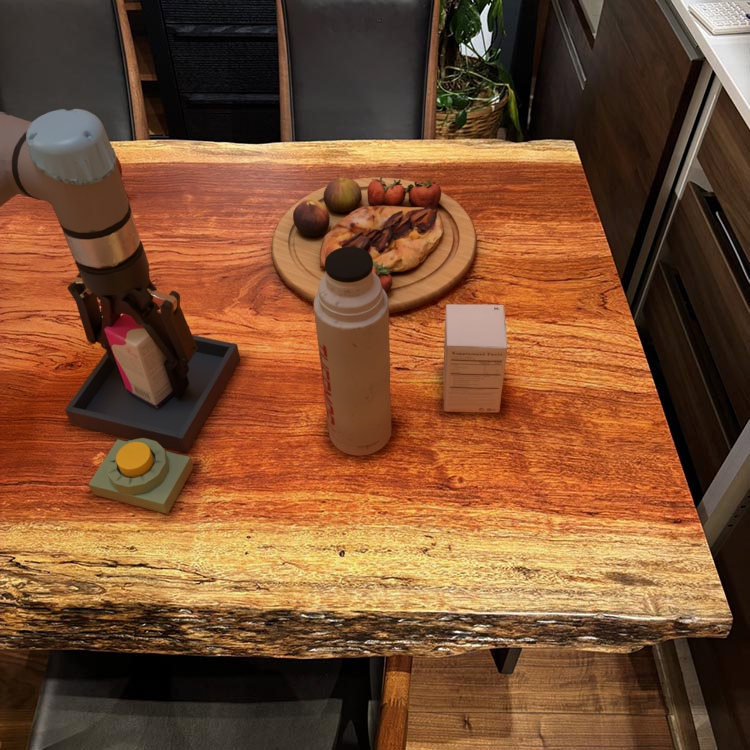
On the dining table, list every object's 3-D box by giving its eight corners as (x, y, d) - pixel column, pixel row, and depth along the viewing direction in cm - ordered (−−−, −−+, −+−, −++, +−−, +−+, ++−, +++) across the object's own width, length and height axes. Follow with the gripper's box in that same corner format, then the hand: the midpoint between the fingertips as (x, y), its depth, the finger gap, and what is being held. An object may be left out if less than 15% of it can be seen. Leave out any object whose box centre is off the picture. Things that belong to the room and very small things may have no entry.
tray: (71, 425, 104) (64, 410, 102) (133, 336, 114) (128, 321, 112) (187, 453, 100) (182, 438, 98) (240, 359, 111) (237, 343, 108)
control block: (93, 494, 97) (83, 475, 94) (122, 449, 101) (113, 429, 98) (168, 514, 94) (160, 495, 91) (193, 467, 99) (187, 447, 96)
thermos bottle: (329, 458, 99) (308, 289, 78) (327, 408, 104) (307, 238, 83) (394, 453, 99) (390, 284, 78) (389, 404, 104) (384, 232, 84)
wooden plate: (452, 336, 112) (454, 292, 106) (241, 299, 119) (231, 255, 113) (493, 202, 133) (497, 158, 126) (310, 176, 139) (306, 134, 133)
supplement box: (188, 380, 107) (169, 319, 98) (157, 409, 104) (135, 348, 95) (156, 363, 109) (135, 301, 101) (125, 391, 106) (100, 330, 97)
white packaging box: (442, 370, 108) (445, 301, 99) (497, 371, 108) (506, 303, 98) (441, 413, 103) (445, 345, 94) (499, 414, 103) (509, 346, 93)
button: (113, 473, 94) (109, 464, 93) (130, 447, 97) (126, 438, 95) (143, 481, 93) (140, 472, 92) (159, 454, 96) (156, 445, 95)
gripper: (202, 242, 89) (236, 379, 106) (49, 214, 94) (105, 350, 111) (172, 286, 85) (212, 421, 102) (11, 255, 89) (76, 390, 106)
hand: (156, 384), depth 106 cm, fingers closed on supplement box, 7 cm apart
